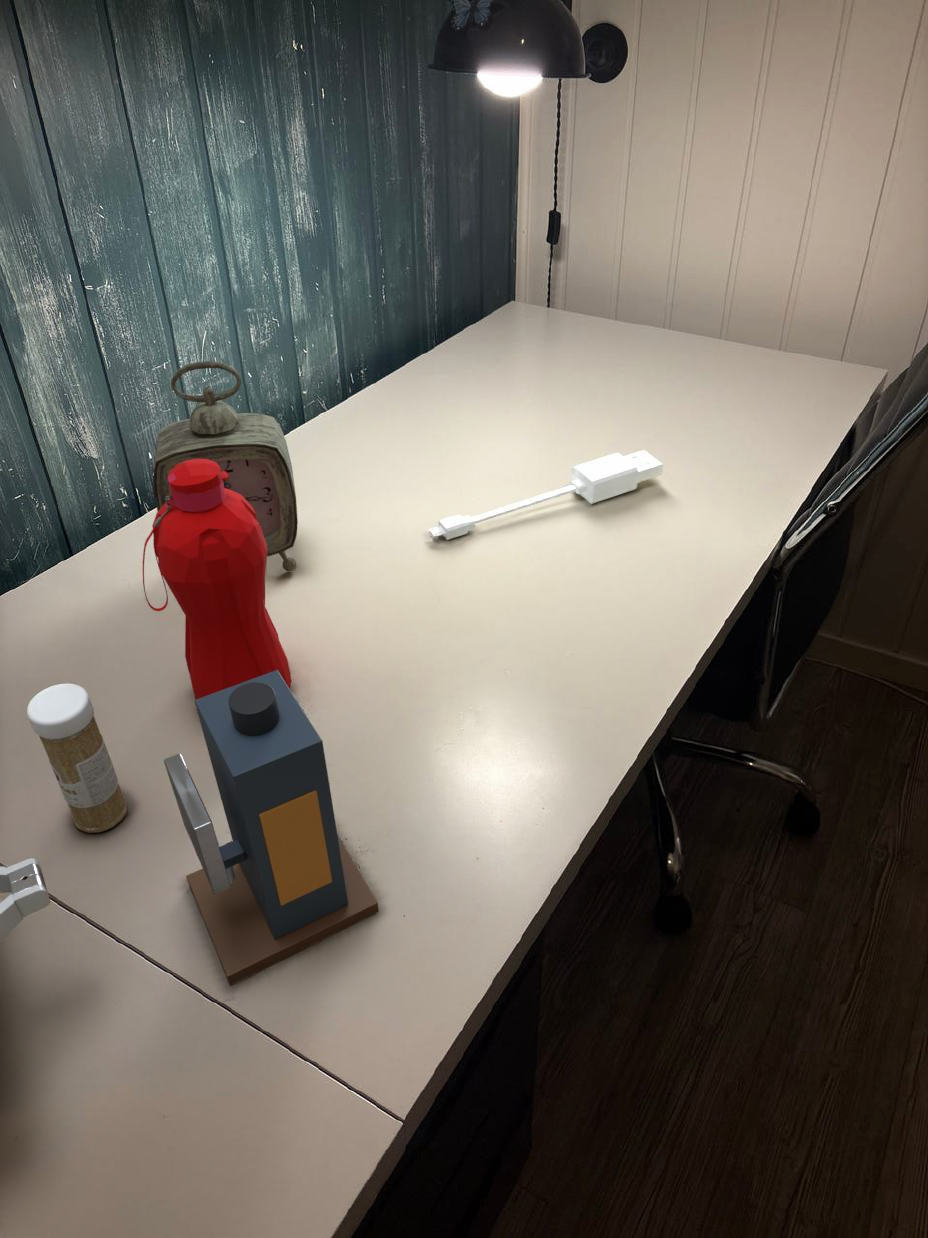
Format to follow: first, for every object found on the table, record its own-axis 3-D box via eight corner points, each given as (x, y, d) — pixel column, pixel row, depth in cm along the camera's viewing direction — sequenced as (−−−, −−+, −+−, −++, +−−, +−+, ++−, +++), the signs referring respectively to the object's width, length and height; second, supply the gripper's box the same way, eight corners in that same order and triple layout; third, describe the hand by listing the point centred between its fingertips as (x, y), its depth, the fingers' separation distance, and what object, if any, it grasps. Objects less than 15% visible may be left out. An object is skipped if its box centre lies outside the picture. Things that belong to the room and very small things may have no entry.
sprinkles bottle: (63, 817, 79) (13, 704, 70) (109, 785, 81) (66, 673, 73) (94, 844, 76) (46, 731, 68) (140, 810, 79) (99, 697, 71)
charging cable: (423, 535, 114) (421, 512, 111) (640, 465, 124) (642, 442, 122) (441, 555, 110) (439, 532, 108) (663, 481, 120) (665, 459, 118)
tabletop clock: (179, 595, 103) (124, 386, 88) (181, 550, 110) (131, 350, 95) (308, 577, 105) (277, 371, 90) (302, 535, 112) (272, 337, 97)
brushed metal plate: (214, 895, 62) (193, 830, 58) (184, 824, 67) (162, 759, 63) (231, 887, 63) (212, 822, 58) (199, 818, 68) (180, 752, 63)
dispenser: (230, 985, 66) (166, 792, 53) (188, 884, 73) (123, 690, 60) (379, 911, 71) (354, 716, 58) (327, 823, 78) (295, 630, 64)
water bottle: (171, 679, 92) (107, 458, 77) (279, 651, 95) (238, 433, 80) (185, 741, 86) (118, 512, 70) (300, 709, 89) (260, 483, 73)
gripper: (-184, 887, 63) (27, 804, 68) (-170, 1166, 49) (93, 1034, 54) (-228, 828, 59) (0, 745, 64) (-227, 1113, 45) (63, 978, 50)
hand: (43, 880), depth 59 cm, fingers closed
